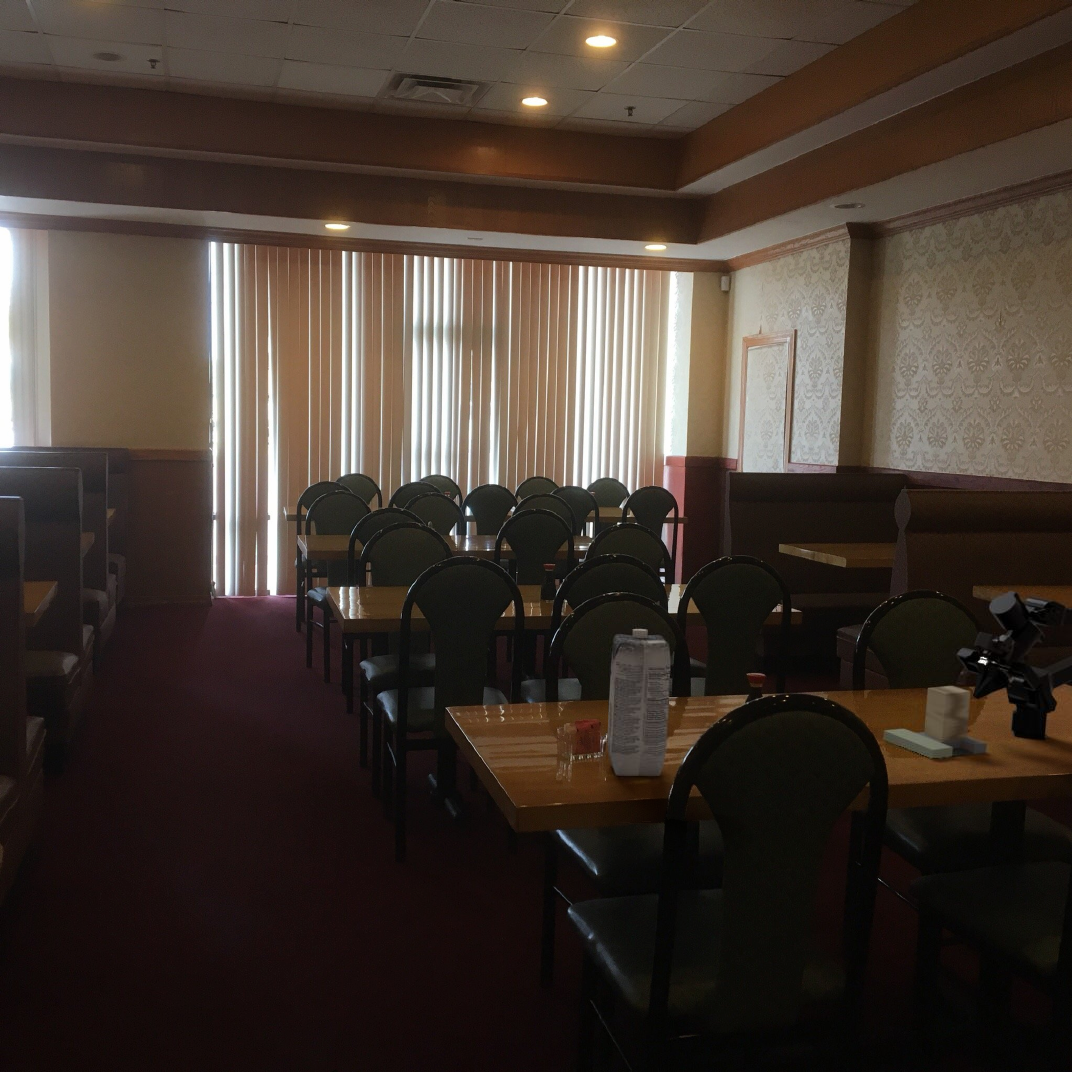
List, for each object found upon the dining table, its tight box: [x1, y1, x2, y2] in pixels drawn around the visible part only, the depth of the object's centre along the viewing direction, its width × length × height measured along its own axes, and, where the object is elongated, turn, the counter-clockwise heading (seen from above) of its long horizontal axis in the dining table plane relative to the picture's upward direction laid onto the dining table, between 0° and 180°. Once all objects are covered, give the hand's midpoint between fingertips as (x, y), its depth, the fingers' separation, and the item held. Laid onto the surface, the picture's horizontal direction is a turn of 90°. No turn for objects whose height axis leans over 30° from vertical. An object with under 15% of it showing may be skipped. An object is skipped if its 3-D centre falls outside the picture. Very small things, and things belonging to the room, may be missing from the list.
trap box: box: [882, 728, 988, 759], centre depth 231 cm, size 15×14×2 cm
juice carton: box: [607, 628, 672, 777], centre depth 206 cm, size 9×10×27 cm
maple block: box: [923, 685, 972, 740], centre depth 232 cm, size 7×5×10 cm
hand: (975, 697), depth 235 cm, fingers closed
